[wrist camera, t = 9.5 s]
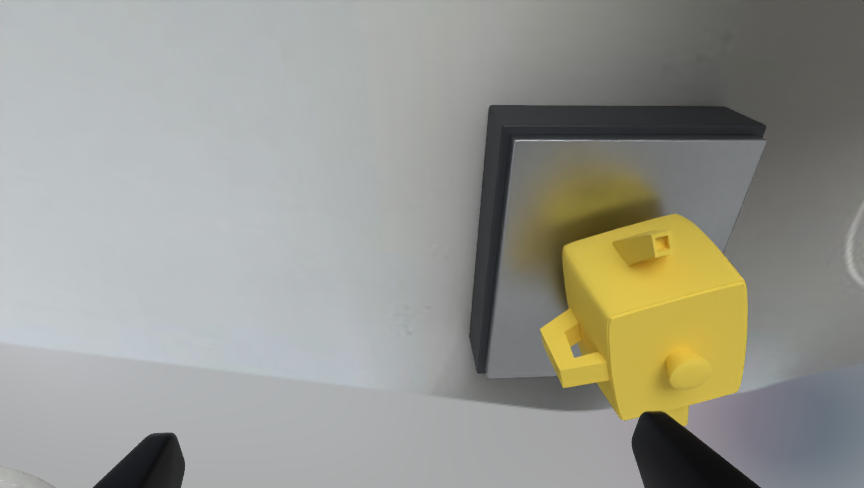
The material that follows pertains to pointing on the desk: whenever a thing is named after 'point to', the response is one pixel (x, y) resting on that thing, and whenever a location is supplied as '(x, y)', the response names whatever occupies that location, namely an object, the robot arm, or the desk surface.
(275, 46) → the desk surface
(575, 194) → the scale
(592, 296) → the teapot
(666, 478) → the robot arm
